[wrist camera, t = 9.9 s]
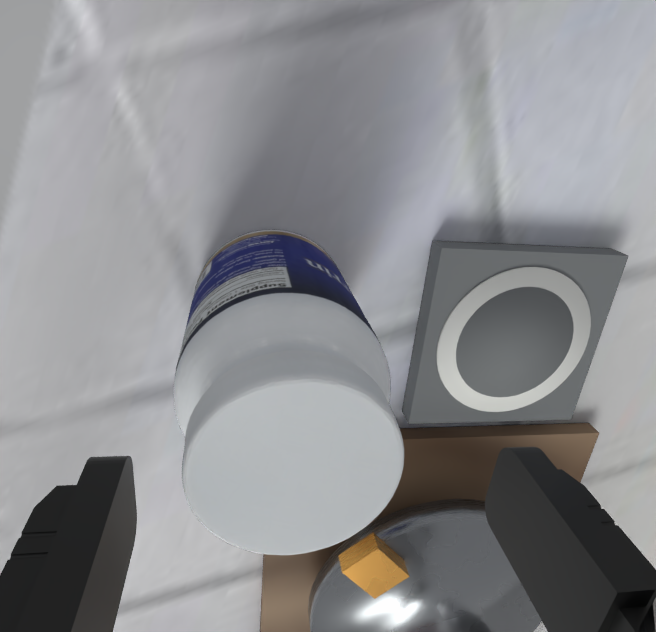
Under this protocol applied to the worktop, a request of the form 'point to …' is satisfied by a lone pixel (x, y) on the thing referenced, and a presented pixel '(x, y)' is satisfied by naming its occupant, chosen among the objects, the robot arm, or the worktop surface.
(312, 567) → the square wooden board
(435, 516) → the grey disc with post
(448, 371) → the gray square coaster
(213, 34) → the worktop surface
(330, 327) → the pill bottle
